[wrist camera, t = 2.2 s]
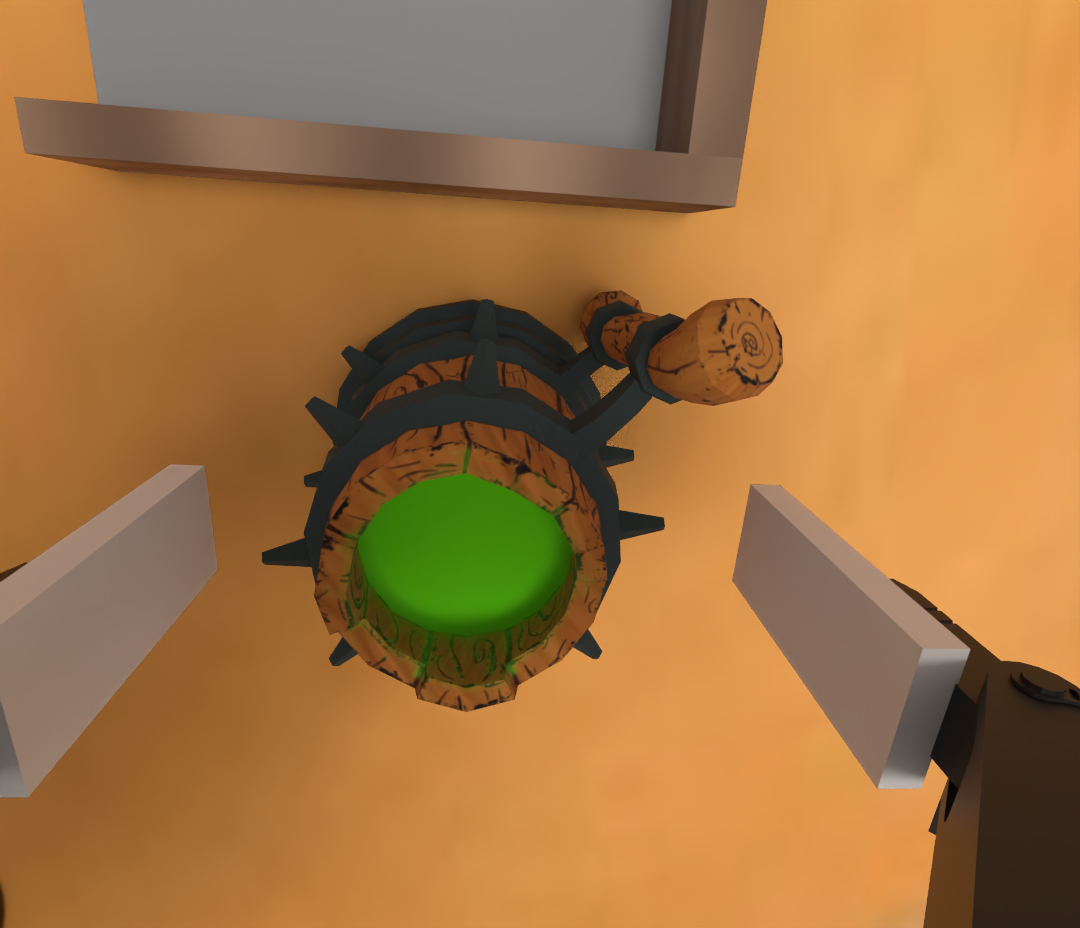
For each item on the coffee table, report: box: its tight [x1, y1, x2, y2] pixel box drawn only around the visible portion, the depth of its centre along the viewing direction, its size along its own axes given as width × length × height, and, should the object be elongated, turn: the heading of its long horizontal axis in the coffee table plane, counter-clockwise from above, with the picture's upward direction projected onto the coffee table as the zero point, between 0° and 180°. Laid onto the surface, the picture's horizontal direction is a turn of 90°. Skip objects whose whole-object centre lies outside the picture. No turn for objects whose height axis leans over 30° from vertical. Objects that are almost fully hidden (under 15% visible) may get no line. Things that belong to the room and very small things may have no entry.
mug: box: [262, 290, 783, 712], centre depth 17 cm, size 13×10×12 cm
